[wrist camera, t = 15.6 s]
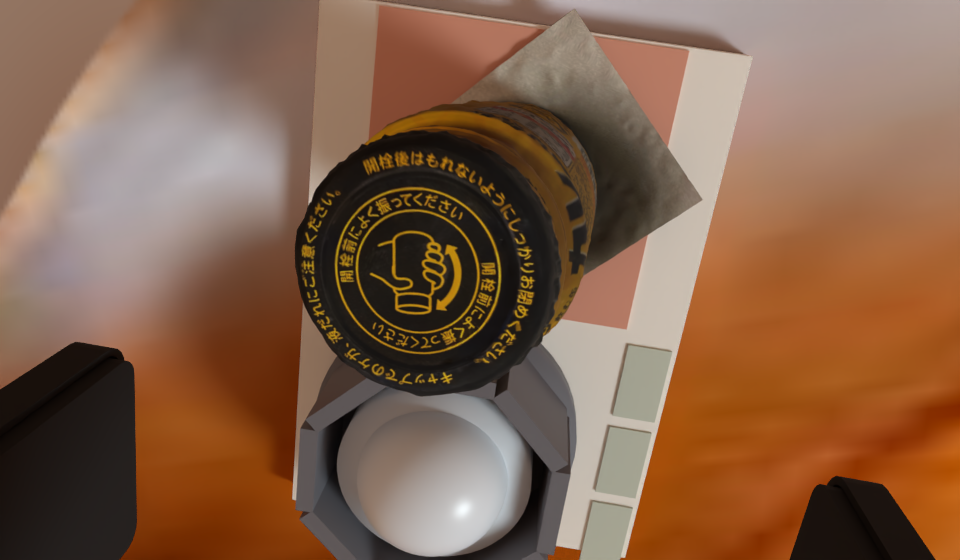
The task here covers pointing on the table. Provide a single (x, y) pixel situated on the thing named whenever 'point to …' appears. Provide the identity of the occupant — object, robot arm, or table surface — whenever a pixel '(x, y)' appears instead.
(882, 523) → the robot arm
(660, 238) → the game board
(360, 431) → the dome
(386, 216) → the condiment
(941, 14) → the table surface
